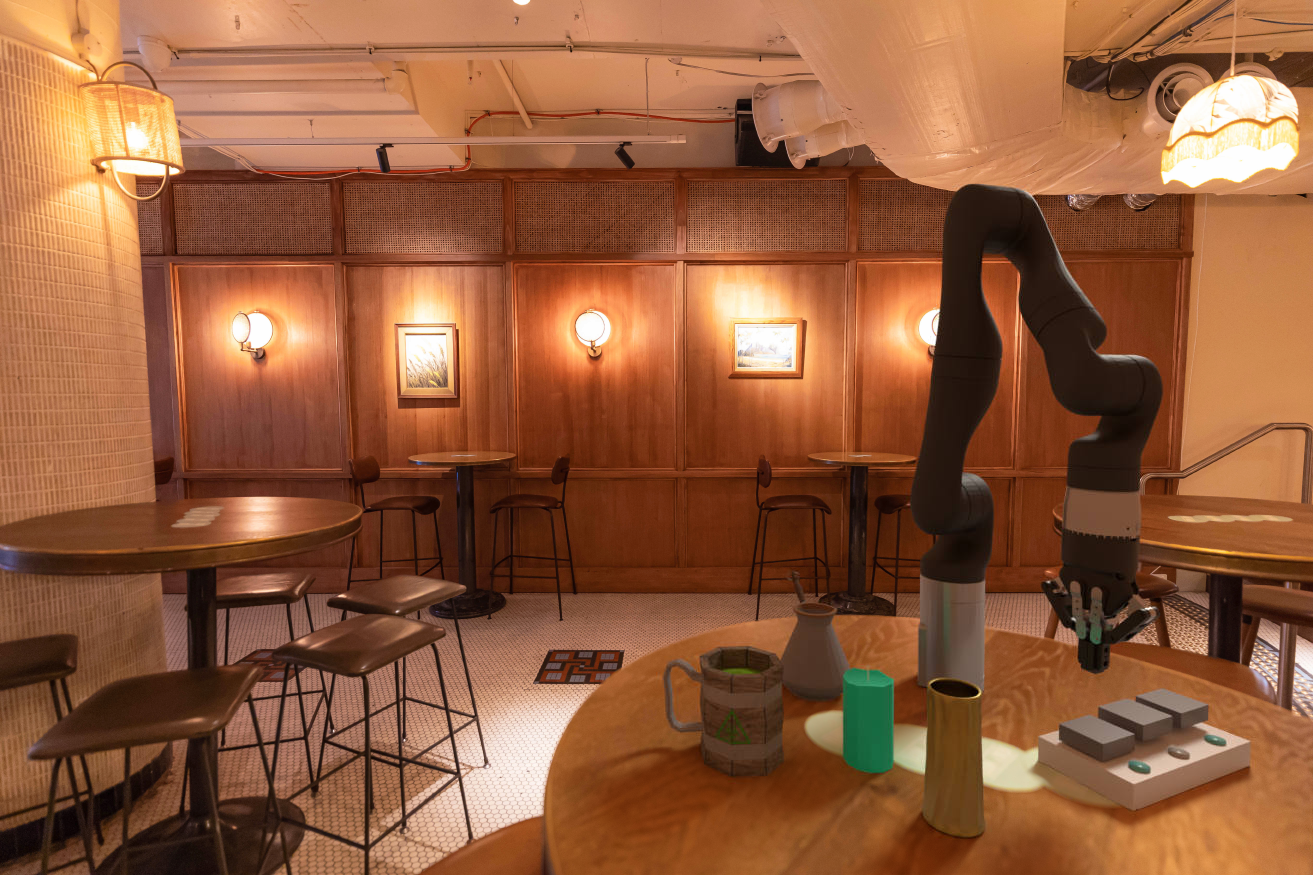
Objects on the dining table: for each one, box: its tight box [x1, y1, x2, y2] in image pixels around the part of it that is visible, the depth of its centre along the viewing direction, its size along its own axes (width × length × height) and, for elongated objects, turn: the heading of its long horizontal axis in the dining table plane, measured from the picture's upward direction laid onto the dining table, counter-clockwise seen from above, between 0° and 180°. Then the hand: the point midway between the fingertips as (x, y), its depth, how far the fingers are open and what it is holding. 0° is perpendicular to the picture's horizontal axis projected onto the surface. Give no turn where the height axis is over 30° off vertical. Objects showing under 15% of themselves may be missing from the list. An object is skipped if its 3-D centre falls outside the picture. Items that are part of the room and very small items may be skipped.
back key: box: [1134, 687, 1209, 729], centre depth 82 cm, size 6×5×2 cm
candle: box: [842, 664, 895, 774], centre depth 80 cm, size 6×6×12 cm
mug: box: [662, 645, 785, 778], centre depth 82 cm, size 16×11×12 cm
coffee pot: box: [779, 570, 852, 702], centre depth 104 cm, size 21×12×15 cm, turn 0°
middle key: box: [1097, 697, 1173, 742], centre depth 79 cm, size 6×5×2 cm
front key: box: [1058, 714, 1135, 761], centre depth 76 cm, size 6×5×2 cm
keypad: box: [1037, 722, 1252, 811], centre depth 78 cm, size 22×11×3 cm, turn 113°
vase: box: [921, 678, 986, 838], centre depth 68 cm, size 6×6×14 cm
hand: (1092, 670), depth 76 cm, fingers closed
